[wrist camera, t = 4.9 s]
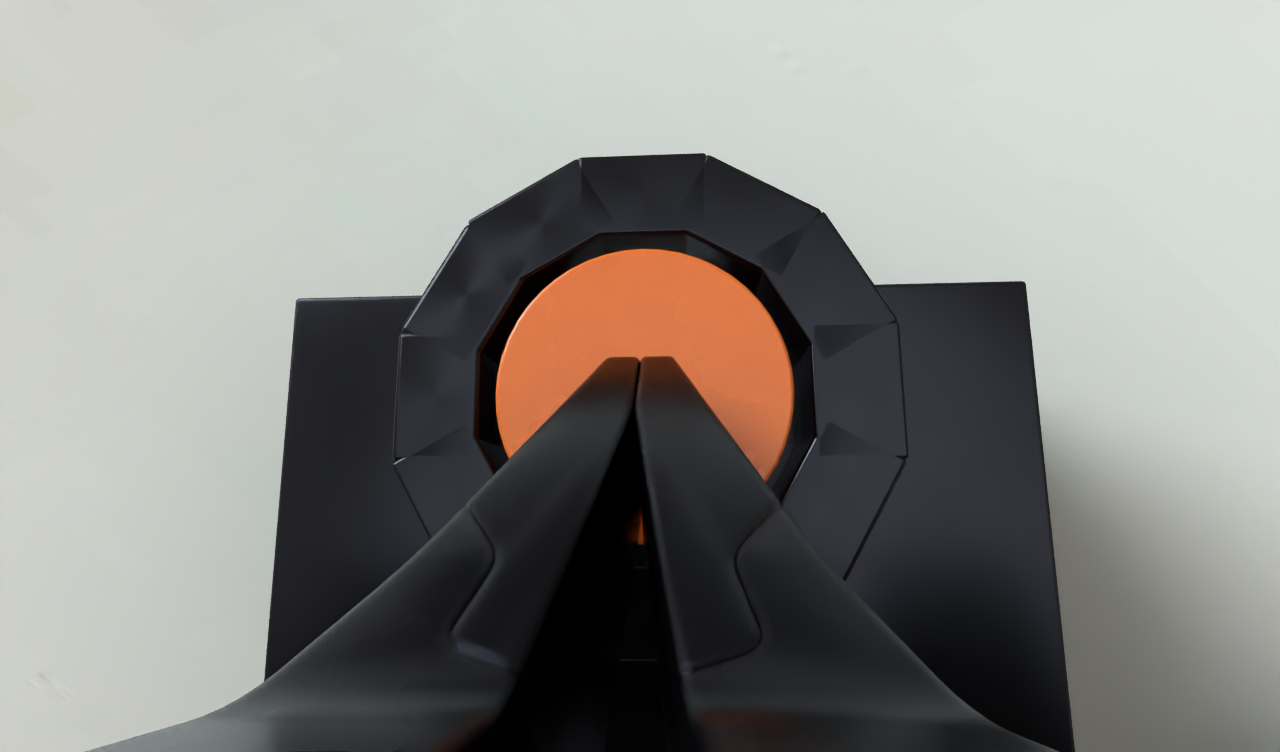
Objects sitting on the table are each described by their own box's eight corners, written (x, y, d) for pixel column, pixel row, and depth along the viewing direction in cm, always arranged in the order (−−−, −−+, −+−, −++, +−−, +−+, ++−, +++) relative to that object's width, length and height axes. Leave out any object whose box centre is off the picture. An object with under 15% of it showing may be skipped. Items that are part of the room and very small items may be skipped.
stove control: (951, 819, 15) (1195, 1105, 8) (395, 807, 16) (147, 1058, 9) (912, 295, 17) (1076, 138, 10) (420, 307, 18) (238, 168, 11)
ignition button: (784, 539, 11) (801, 544, 9) (519, 539, 11) (489, 545, 9) (773, 282, 12) (788, 242, 10) (526, 288, 12) (498, 251, 10)
